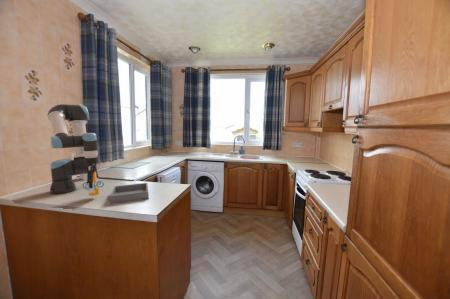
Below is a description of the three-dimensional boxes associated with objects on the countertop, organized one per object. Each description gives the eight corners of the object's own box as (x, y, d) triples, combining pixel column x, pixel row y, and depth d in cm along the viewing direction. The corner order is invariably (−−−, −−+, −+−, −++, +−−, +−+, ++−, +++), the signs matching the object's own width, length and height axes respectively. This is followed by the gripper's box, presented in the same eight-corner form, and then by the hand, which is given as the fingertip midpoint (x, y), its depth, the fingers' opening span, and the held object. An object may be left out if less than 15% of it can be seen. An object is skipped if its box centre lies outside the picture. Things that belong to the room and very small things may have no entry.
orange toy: (93, 198, 127) (91, 175, 125) (79, 197, 129) (77, 174, 127) (108, 191, 139) (106, 170, 137) (95, 190, 141) (93, 169, 139)
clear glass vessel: (84, 180, 179) (82, 161, 177) (79, 178, 184) (77, 160, 182) (95, 178, 187) (94, 160, 185) (91, 176, 192) (89, 159, 190)
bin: (114, 193, 144) (114, 186, 144) (147, 189, 152) (147, 182, 152) (110, 204, 124) (109, 196, 123) (148, 198, 132) (148, 191, 132)
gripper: (93, 159, 121) (96, 195, 124) (101, 154, 143) (103, 184, 145) (78, 160, 118) (82, 196, 121) (88, 154, 140) (91, 185, 143)
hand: (93, 189), depth 133 cm, fingers closed on orange toy, 11 cm apart
